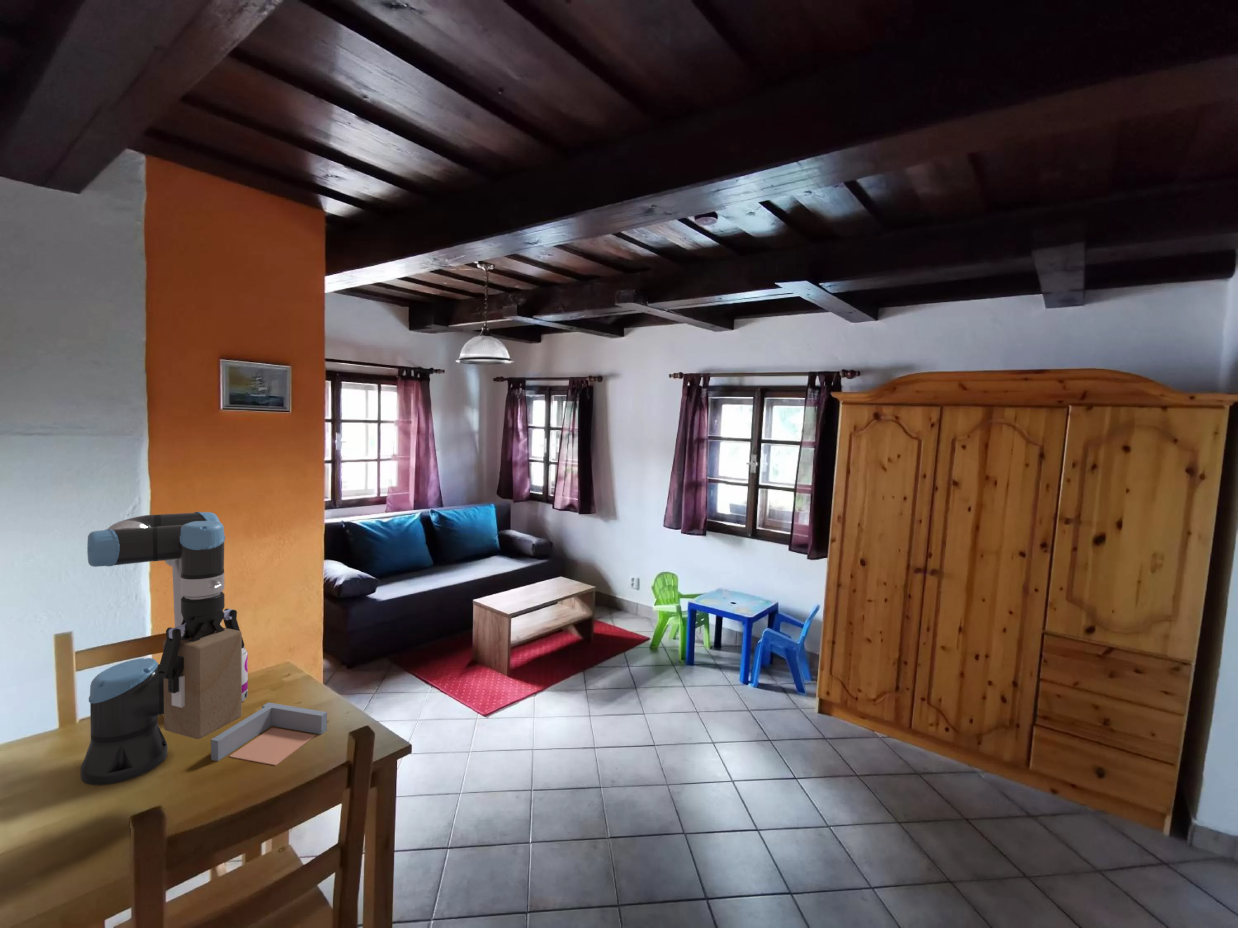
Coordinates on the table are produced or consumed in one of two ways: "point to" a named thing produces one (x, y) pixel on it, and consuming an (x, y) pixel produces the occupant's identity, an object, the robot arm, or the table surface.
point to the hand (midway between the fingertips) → (203, 693)
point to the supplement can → (244, 674)
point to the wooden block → (207, 685)
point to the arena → (269, 734)
